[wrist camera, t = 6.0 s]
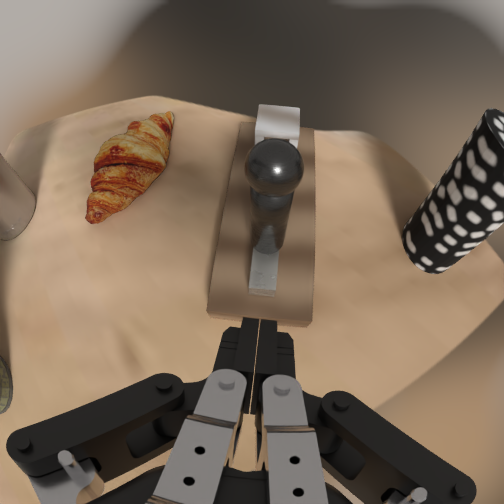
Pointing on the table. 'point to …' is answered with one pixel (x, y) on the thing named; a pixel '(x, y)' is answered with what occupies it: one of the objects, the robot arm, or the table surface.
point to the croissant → (128, 165)
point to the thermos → (5, 386)
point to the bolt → (270, 206)
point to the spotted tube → (461, 201)
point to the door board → (238, 232)
